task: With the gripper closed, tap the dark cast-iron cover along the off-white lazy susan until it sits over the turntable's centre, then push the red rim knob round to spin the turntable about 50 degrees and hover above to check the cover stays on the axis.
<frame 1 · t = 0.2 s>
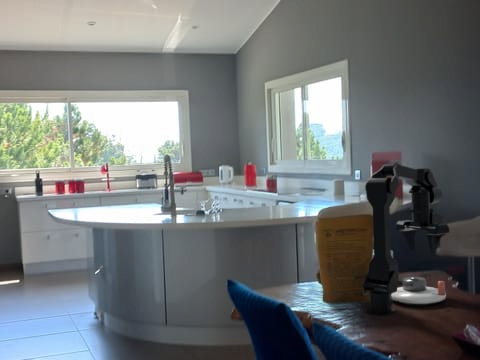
hand: (422, 252, 186), 13 cm above the table, tool pointing down, fingers open, 9 cm apart
turntable base: (417, 300, 177), on the table
potato: (335, 290, 197), on the table
platter: (416, 288, 177), point 4 cm above the table, hinge at 0.0°, touching cover
pancake mix bag: (348, 302, 181), on the table
pointer stand: (383, 293, 187), on the table
cover: (414, 289, 181), point 2 cm above the table, touching platter
light bulb box: (377, 280, 208), on the table
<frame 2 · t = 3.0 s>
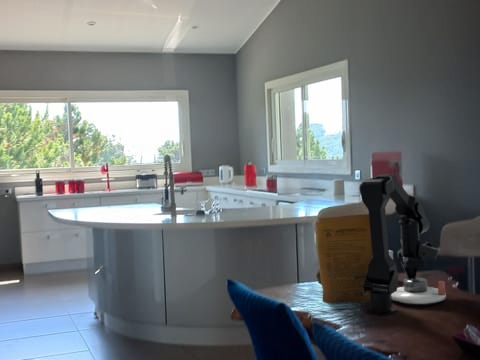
hand: (412, 283, 185), 3 cm above the table, tool pointing down, fingers closed
platter: (416, 288, 177), point 4 cm above the table, hinge at -0.1°
cover: (415, 290, 180), point 3 cm above the table, touching gripper
everything else where it was.
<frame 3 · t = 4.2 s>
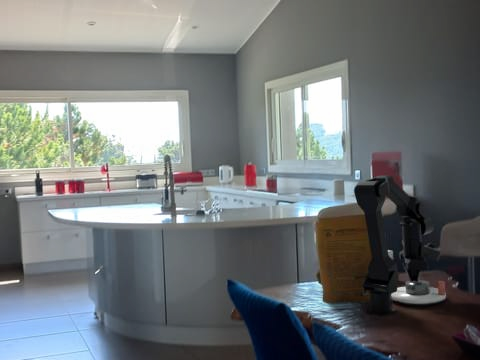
hand: (414, 285, 182), 3 cm above the table, tool pointing down, fingers closed
platter: (416, 288, 177), point 4 cm above the table, hinge at -0.1°, touching cover
cover: (417, 292, 177), point 2 cm above the table, touching gripper, platter
everything else where it was.
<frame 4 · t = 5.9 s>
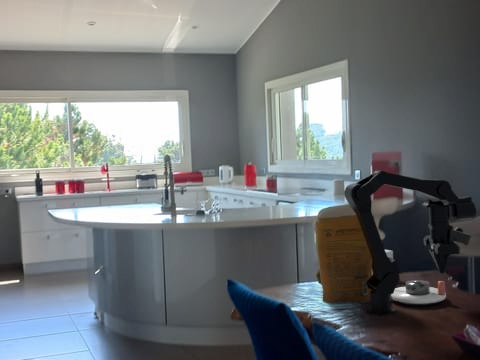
hand: (442, 272, 169), 10 cm above the table, tool pointing down, fingers closed
cover: (417, 292, 177), point 2 cm above the table, touching platter
everything else where it was.
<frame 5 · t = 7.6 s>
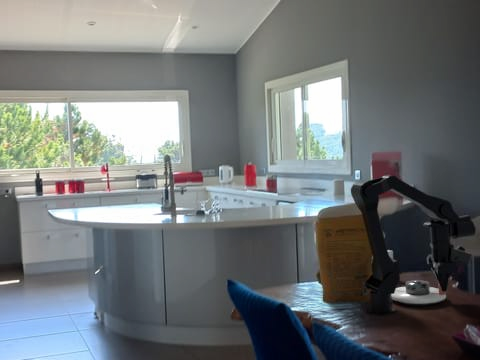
hand: (444, 291, 171), 4 cm above the table, tool pointing down, fingers closed
platter: (416, 288, 177), point 4 cm above the table, hinge at 5.6°, touching cover, gripper
everything else where it was.
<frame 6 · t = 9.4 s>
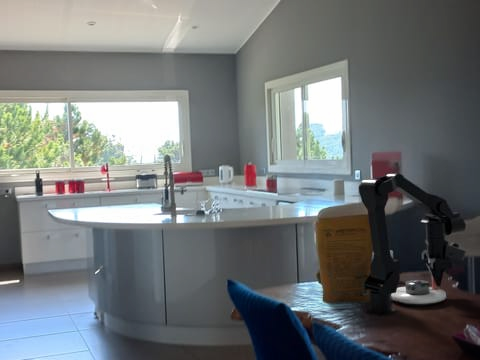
hand: (438, 286, 177), 4 cm above the table, tool pointing down, fingers closed
platter: (416, 288, 177), point 4 cm above the table, hinge at 56.4°, touching cover, gripper
everything else where it was.
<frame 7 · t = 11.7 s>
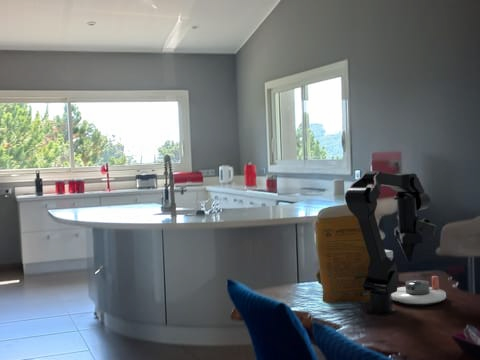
hand: (409, 261, 178), 12 cm above the table, tool pointing down, fingers closed
platter: (416, 288, 177), point 4 cm above the table, hinge at 56.4°, touching cover
everything else where it was.
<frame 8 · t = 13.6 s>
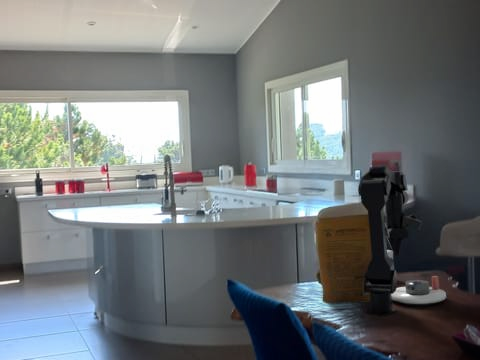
hand: (396, 255, 187), 12 cm above the table, tool pointing down, fingers closed
nothing on the table moved.
at the end: cover 0.2 cm from the platter (horizontally); platter at +56° (first picture: +0°); cover tilted 0° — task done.
